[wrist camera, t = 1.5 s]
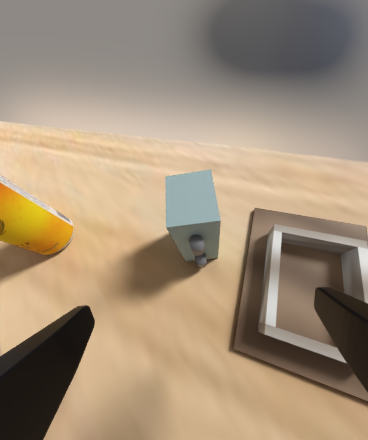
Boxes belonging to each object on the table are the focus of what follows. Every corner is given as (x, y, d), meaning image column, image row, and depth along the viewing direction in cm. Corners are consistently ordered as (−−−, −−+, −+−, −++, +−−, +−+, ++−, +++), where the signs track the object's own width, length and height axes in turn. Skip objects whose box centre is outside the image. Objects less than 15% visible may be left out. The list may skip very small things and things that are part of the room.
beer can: (32, 243, 26) (-146, 177, 13) (63, 213, 28) (-67, 130, 15) (53, 264, 24) (-137, 208, 11) (85, 230, 26) (-45, 148, 13)
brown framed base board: (389, 408, 13) (433, 433, 11) (233, 347, 17) (237, 354, 14) (362, 228, 20) (385, 215, 17) (254, 210, 23) (259, 196, 20)
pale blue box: (219, 267, 20) (223, 235, 12) (186, 271, 21) (166, 242, 12) (212, 222, 23) (210, 169, 15) (183, 225, 24) (165, 176, 15)
